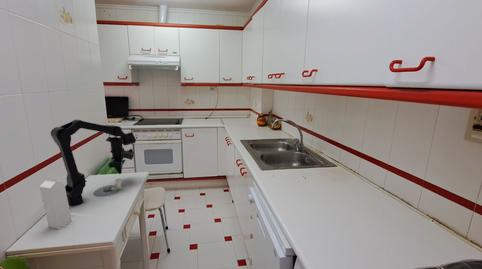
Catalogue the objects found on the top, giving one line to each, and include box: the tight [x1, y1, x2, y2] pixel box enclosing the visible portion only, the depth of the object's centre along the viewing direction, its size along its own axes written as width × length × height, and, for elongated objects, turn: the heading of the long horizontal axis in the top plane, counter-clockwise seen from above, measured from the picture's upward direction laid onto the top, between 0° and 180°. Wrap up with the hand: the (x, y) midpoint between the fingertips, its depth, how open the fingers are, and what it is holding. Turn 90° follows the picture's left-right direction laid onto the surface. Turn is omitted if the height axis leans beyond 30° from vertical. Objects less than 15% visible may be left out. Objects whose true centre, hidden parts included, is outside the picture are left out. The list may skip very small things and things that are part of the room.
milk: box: [39, 176, 72, 230], centre depth 102 cm, size 6×6×22 cm
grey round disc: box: [92, 184, 123, 198], centre depth 134 cm, size 14×14×1 cm
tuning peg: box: [103, 178, 123, 192], centre depth 133 cm, size 9×4×6 cm, turn 101°
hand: (120, 173), depth 139 cm, fingers closed
